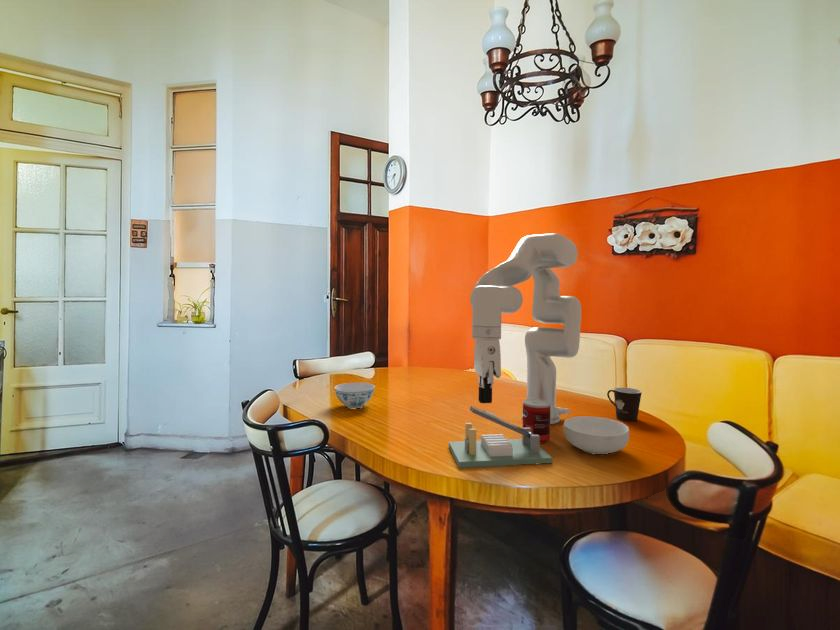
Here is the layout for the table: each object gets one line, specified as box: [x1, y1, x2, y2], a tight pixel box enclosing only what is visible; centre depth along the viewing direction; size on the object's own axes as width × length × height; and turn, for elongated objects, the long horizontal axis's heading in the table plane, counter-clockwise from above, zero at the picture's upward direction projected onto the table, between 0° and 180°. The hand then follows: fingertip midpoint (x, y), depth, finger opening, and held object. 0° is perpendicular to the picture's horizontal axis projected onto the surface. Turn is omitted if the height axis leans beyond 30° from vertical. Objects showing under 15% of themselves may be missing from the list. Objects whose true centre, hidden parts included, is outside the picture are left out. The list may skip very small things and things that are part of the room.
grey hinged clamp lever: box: [469, 405, 534, 438], centre depth 110 cm, size 19×4×2 cm, turn 98°
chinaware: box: [334, 382, 376, 409], centre depth 156 cm, size 15×15×8 cm
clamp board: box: [448, 422, 553, 469], centre depth 110 cm, size 24×14×8 cm, turn 96°
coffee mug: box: [606, 387, 642, 423], centre depth 144 cm, size 12×9×10 cm
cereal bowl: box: [563, 415, 630, 455], centre depth 114 cm, size 17×17×7 cm
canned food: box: [522, 398, 551, 443], centre depth 123 cm, size 8×8×11 cm
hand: (485, 402), depth 109 cm, fingers closed
